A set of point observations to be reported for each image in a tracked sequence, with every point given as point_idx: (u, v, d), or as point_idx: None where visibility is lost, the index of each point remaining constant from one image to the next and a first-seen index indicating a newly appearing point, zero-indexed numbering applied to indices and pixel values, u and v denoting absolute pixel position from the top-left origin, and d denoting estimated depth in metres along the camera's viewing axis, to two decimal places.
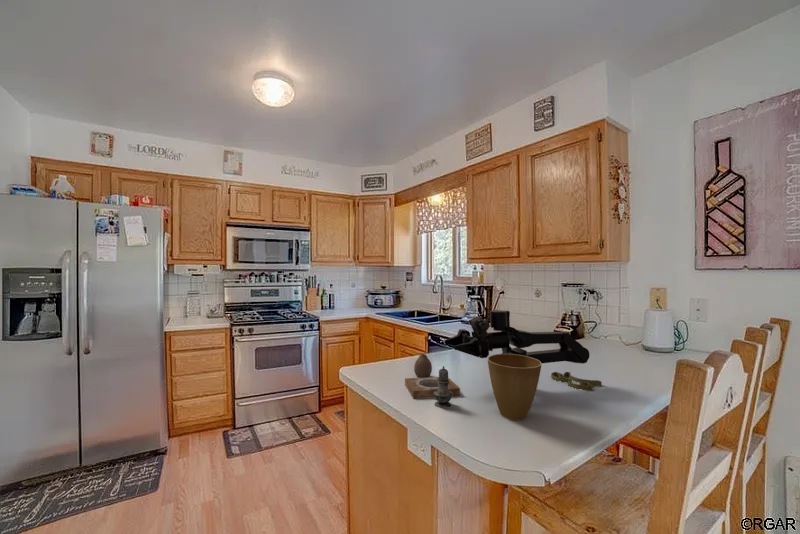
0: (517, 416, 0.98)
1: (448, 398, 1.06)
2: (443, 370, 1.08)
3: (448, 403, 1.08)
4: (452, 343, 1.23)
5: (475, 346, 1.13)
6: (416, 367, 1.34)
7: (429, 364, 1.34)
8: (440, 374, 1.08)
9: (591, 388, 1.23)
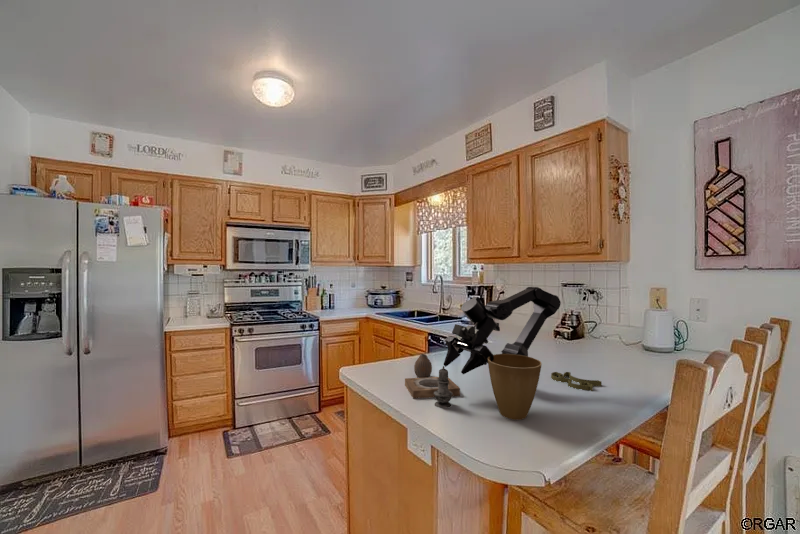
0: (517, 416, 0.98)
1: (448, 398, 1.06)
2: (443, 370, 1.08)
3: (448, 403, 1.08)
4: (451, 360, 1.16)
5: (478, 357, 1.06)
6: (416, 367, 1.34)
7: (429, 364, 1.34)
8: (440, 374, 1.08)
9: (591, 388, 1.23)
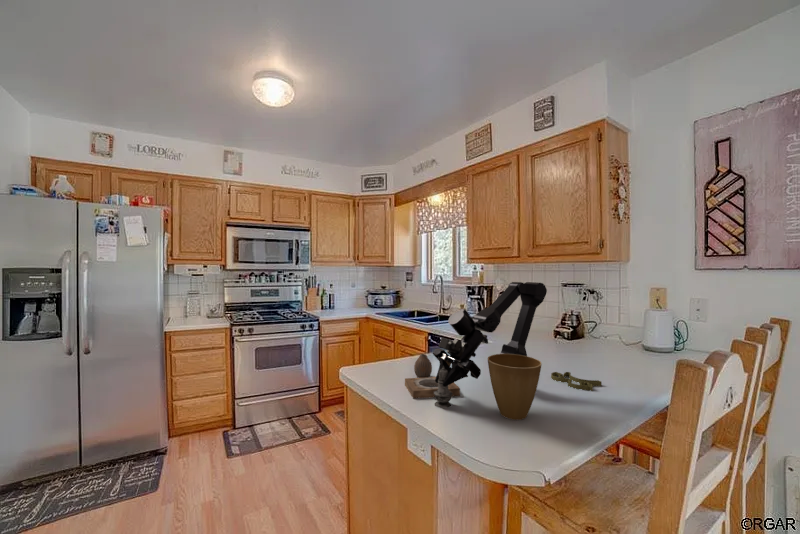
0: (517, 416, 0.98)
1: (448, 398, 1.06)
2: (443, 370, 1.08)
3: (448, 403, 1.08)
4: None
5: (459, 370, 1.06)
6: (416, 367, 1.34)
7: (429, 364, 1.34)
8: (440, 374, 1.08)
9: (591, 388, 1.23)
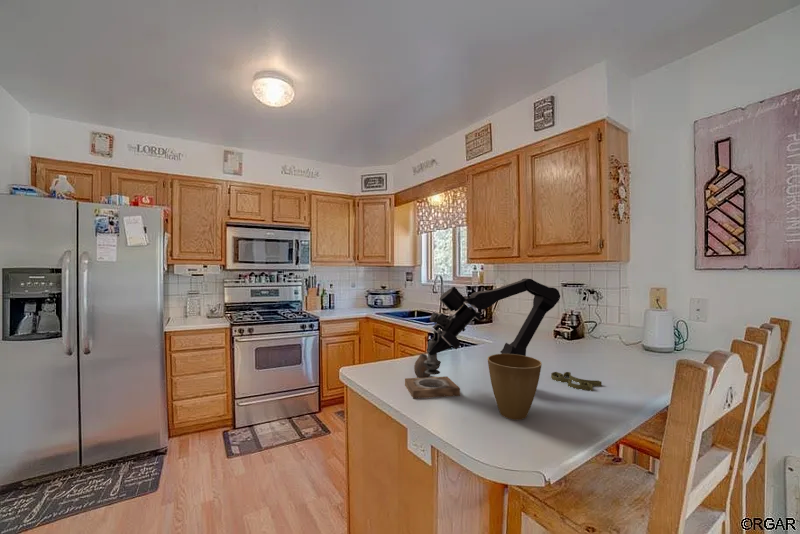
0: (517, 416, 0.98)
1: (434, 366, 1.18)
2: (431, 341, 1.20)
3: (436, 371, 1.19)
4: None
5: (443, 341, 1.16)
6: (416, 367, 1.34)
7: None
8: (428, 344, 1.20)
9: (591, 388, 1.23)
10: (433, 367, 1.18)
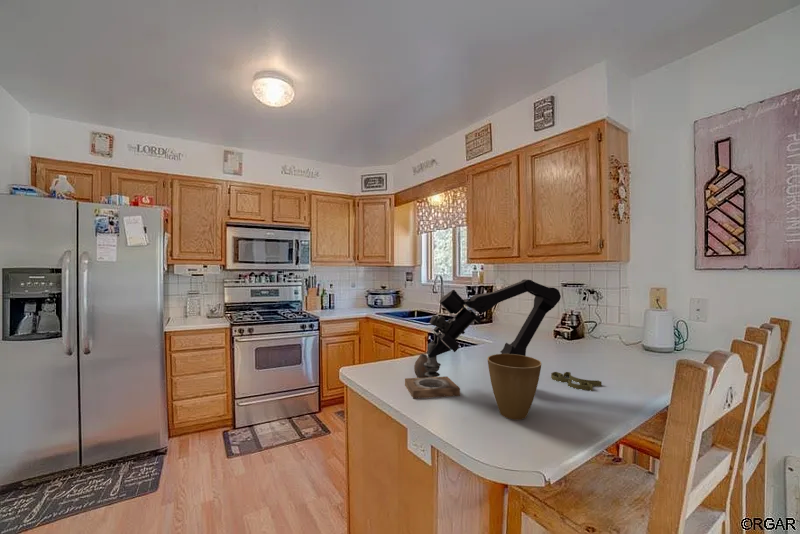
0: (517, 416, 0.98)
1: (433, 368, 1.19)
2: (431, 343, 1.21)
3: (436, 373, 1.20)
4: None
5: (442, 344, 1.17)
6: (416, 367, 1.34)
7: None
8: (428, 346, 1.21)
9: (591, 388, 1.23)
10: (432, 369, 1.19)
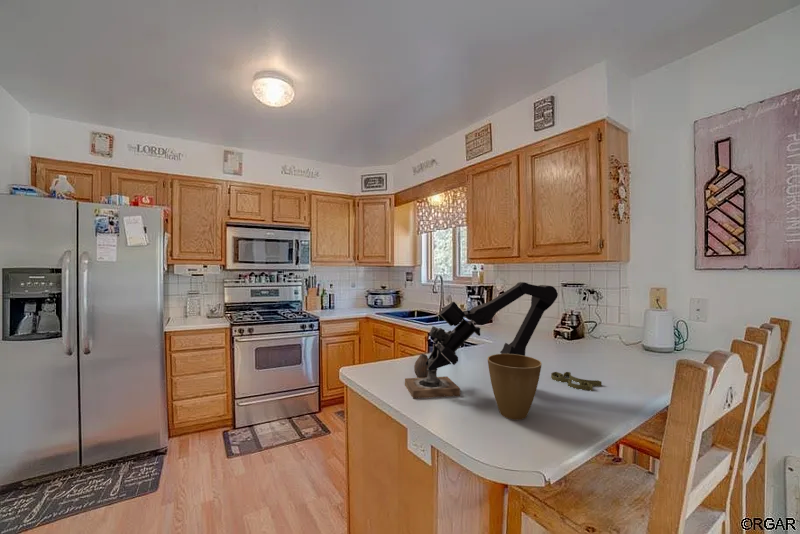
0: (517, 416, 0.98)
1: (433, 384, 1.19)
2: (431, 359, 1.21)
3: None
4: None
5: (442, 357, 1.16)
6: (416, 367, 1.34)
7: None
8: (428, 362, 1.21)
9: (591, 388, 1.23)
10: (432, 386, 1.19)
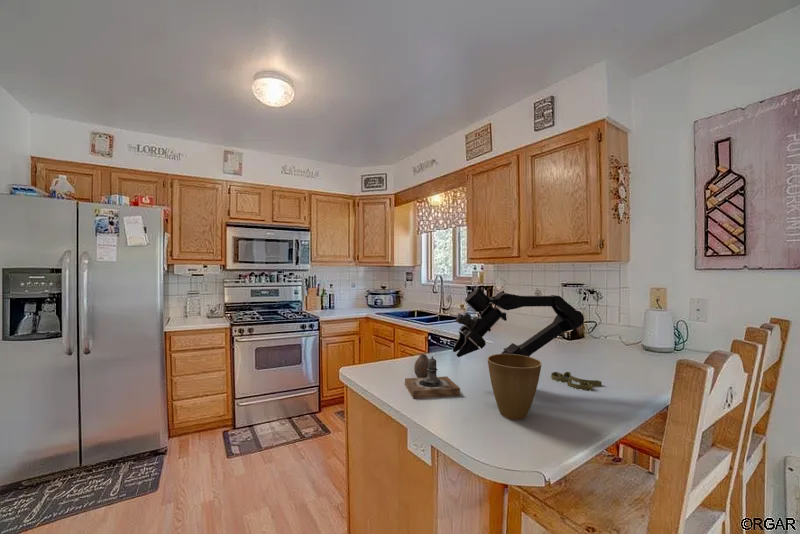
0: (517, 416, 0.98)
1: (433, 384, 1.19)
2: (431, 359, 1.21)
3: None
4: (460, 346, 1.27)
5: (470, 342, 1.16)
6: (416, 367, 1.34)
7: None
8: (428, 362, 1.21)
9: (591, 388, 1.23)
10: (432, 386, 1.19)
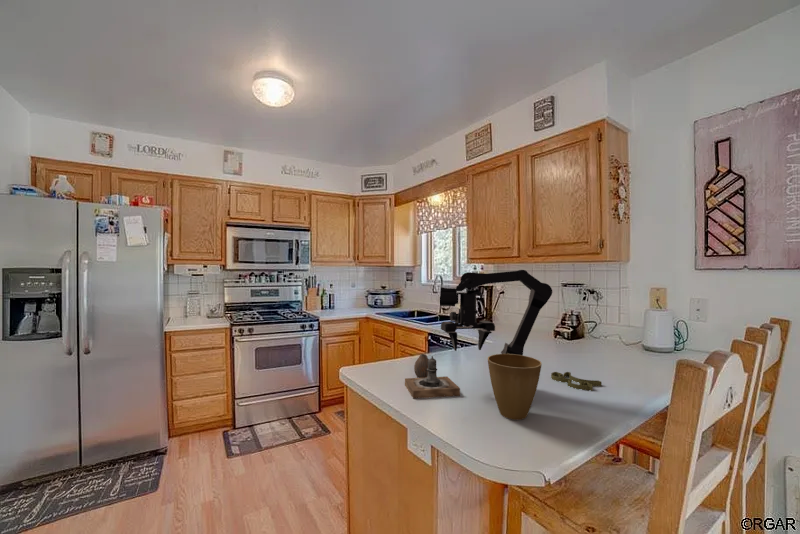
0: (517, 416, 0.98)
1: (433, 384, 1.19)
2: (431, 359, 1.21)
3: None
4: (480, 342, 1.26)
5: None
6: (416, 367, 1.34)
7: None
8: (428, 362, 1.21)
9: (591, 388, 1.23)
10: (432, 386, 1.19)
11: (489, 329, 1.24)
